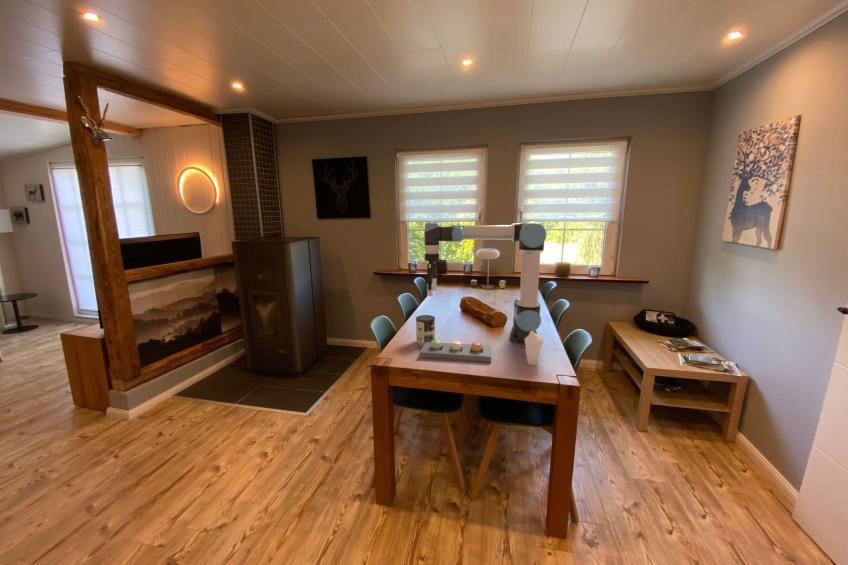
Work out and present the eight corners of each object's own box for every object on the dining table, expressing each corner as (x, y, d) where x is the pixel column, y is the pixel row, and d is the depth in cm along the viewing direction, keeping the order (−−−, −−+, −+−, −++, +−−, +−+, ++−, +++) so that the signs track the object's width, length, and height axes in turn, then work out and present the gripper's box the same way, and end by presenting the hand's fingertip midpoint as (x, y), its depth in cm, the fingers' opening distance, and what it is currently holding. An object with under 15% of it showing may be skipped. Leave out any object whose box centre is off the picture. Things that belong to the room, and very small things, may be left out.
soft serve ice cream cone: (538, 359, 165) (539, 327, 162) (544, 367, 157) (546, 333, 153) (520, 360, 164) (522, 328, 161) (526, 367, 156) (528, 334, 153)
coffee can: (436, 339, 192) (436, 315, 190) (433, 346, 182) (433, 321, 180) (418, 338, 194) (418, 314, 192) (414, 345, 184) (413, 320, 182)
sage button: (441, 347, 175) (441, 340, 174) (440, 351, 170) (440, 343, 169) (432, 346, 176) (432, 339, 175) (430, 350, 171) (430, 343, 170)
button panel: (490, 351, 175) (490, 345, 175) (491, 362, 162) (491, 356, 161) (425, 347, 181) (425, 341, 181) (420, 358, 168) (420, 352, 167)
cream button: (461, 348, 173) (461, 341, 172) (460, 352, 168) (461, 344, 168) (451, 348, 174) (451, 340, 173) (450, 351, 169) (450, 344, 169)
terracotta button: (481, 349, 171) (481, 342, 171) (481, 353, 167) (481, 346, 166) (471, 349, 172) (471, 341, 172) (471, 353, 168) (471, 345, 167)
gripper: (428, 250, 190) (429, 287, 194) (420, 255, 166) (420, 298, 170) (442, 250, 189) (442, 288, 193) (435, 256, 165) (435, 299, 169)
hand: (432, 293), depth 182 cm, fingers open, 13 cm apart
